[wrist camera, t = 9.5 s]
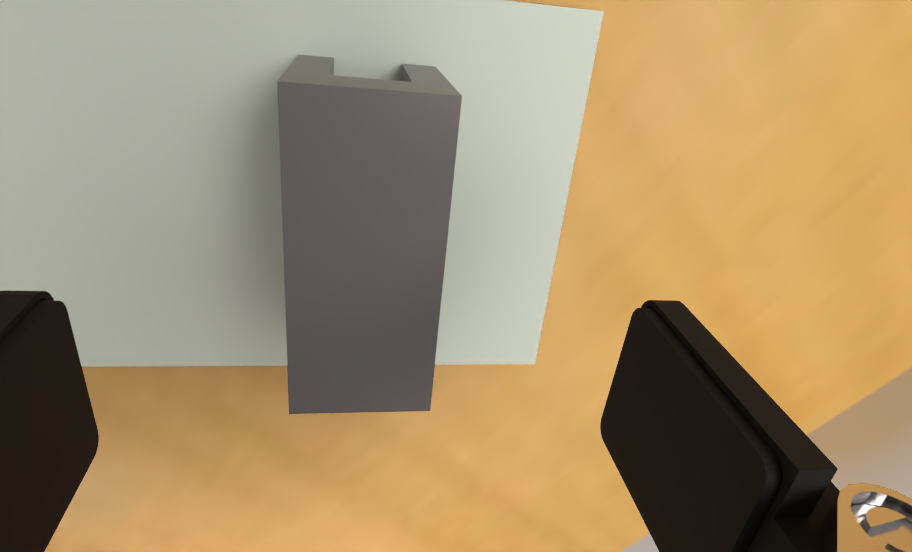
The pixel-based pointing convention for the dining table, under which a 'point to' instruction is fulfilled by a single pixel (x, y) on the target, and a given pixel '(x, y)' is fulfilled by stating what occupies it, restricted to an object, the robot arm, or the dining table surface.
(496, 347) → the board
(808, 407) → the dining table surface
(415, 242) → the plug
